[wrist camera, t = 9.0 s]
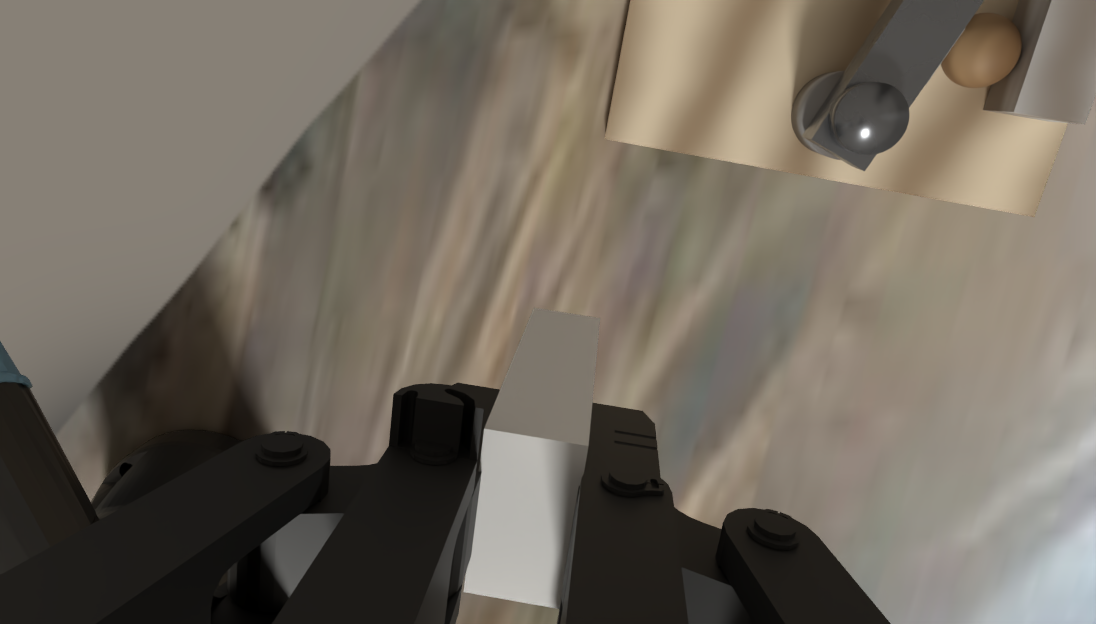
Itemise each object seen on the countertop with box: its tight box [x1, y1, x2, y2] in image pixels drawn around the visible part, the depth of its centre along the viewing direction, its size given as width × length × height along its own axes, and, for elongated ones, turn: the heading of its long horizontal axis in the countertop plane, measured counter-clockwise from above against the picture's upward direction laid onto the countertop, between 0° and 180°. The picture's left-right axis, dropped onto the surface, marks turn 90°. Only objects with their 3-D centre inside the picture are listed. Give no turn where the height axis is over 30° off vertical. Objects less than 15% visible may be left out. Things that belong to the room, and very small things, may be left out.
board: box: [605, 0, 1096, 217], centre depth 40 cm, size 24×16×5 cm, turn 80°
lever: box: [802, 0, 984, 171], centre depth 34 cm, size 4×15×14 cm, turn 151°
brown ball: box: [941, 13, 1022, 88], centre depth 39 cm, size 4×4×4 cm
